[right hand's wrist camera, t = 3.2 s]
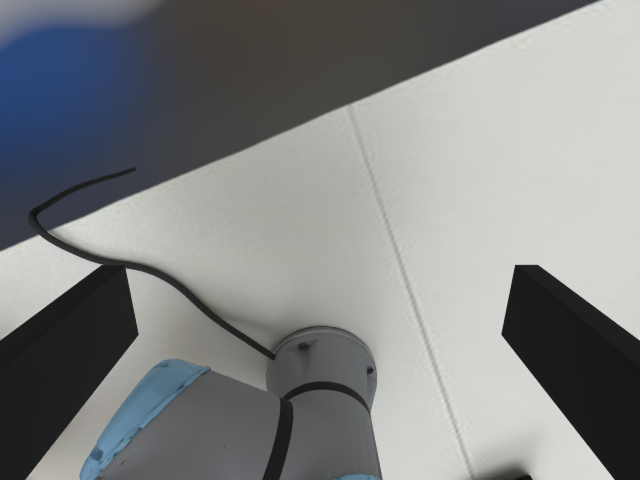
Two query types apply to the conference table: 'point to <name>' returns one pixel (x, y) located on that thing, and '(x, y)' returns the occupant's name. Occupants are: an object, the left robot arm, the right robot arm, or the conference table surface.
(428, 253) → the conference table surface
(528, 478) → the handheld gaming console
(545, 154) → the conference table surface
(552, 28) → the conference table surface
